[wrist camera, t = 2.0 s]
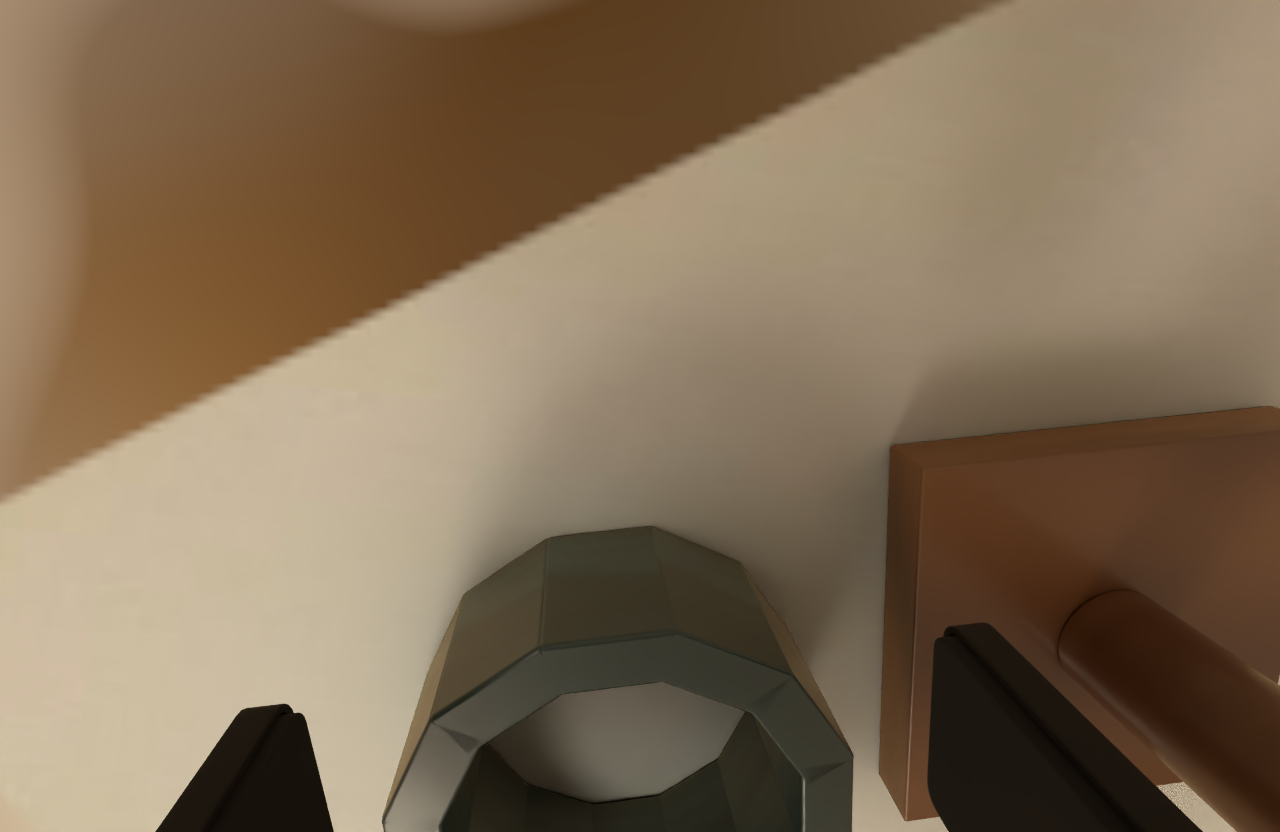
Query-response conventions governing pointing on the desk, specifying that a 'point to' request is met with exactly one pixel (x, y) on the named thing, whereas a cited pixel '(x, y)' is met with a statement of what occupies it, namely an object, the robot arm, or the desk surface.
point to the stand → (1102, 591)
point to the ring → (617, 657)
